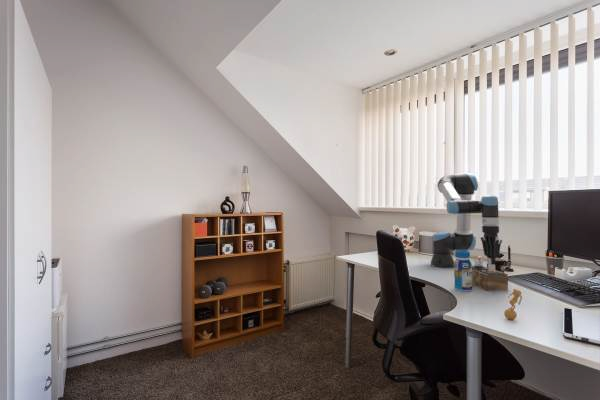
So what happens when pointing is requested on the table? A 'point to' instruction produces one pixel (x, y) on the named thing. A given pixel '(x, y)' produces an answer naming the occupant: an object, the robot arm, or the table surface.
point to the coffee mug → (499, 264)
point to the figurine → (510, 312)
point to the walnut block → (489, 279)
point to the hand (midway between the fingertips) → (491, 270)
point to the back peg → (478, 262)
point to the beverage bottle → (463, 271)
